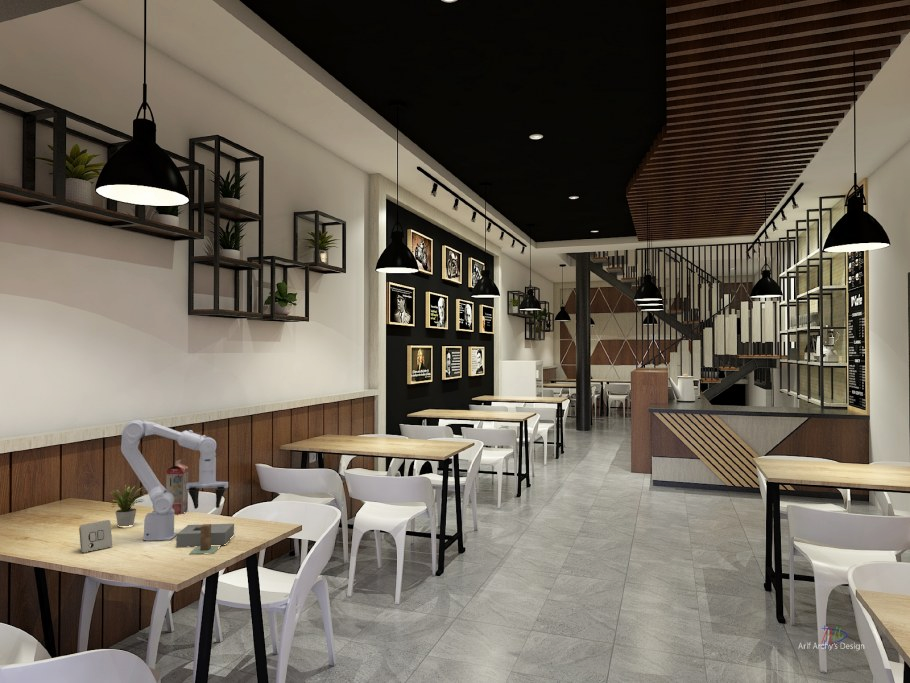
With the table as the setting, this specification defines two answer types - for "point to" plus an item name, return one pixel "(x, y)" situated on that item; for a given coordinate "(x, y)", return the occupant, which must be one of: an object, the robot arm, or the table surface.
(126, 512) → the house plant
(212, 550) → the mat
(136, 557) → the table surface
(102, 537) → the electrical switch
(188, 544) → the panel
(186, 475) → the juice carton
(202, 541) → the wooden peg
